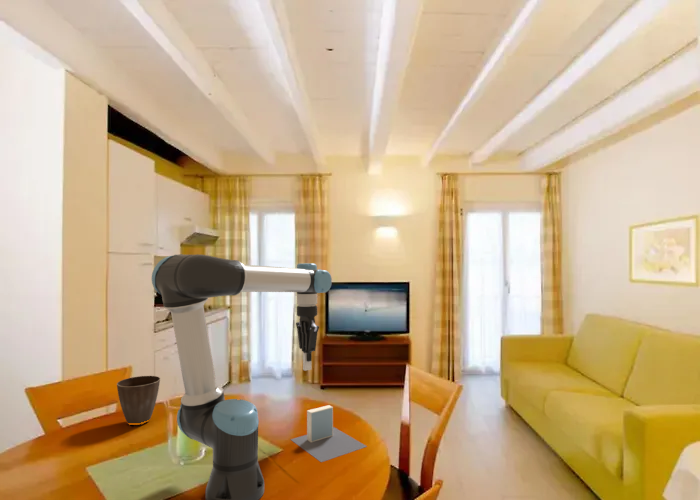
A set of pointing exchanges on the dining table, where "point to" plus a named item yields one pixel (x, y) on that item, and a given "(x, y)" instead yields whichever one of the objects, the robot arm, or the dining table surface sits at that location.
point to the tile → (319, 423)
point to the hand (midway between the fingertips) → (307, 369)
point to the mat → (329, 445)
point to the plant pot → (138, 397)
